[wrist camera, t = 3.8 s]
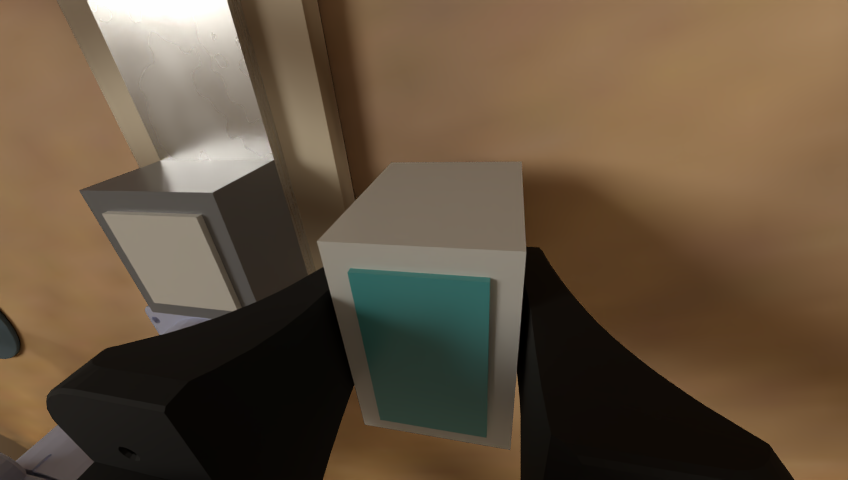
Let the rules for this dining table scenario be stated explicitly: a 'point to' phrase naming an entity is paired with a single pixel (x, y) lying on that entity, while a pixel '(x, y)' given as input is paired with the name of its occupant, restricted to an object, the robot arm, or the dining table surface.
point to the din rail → (196, 83)
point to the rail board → (287, 94)
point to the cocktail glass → (8, 339)
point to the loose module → (433, 297)
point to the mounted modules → (201, 233)
